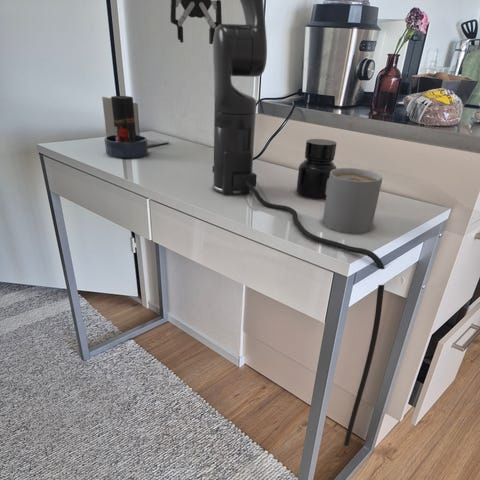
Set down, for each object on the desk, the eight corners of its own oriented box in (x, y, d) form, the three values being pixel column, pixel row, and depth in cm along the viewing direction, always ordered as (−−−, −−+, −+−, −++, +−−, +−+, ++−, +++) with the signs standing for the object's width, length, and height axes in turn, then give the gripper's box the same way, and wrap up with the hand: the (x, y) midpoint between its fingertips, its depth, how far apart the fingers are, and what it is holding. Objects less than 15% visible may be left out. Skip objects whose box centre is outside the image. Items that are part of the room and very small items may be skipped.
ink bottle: (336, 201, 101) (345, 147, 94) (298, 200, 101) (305, 145, 94) (328, 189, 109) (336, 138, 103) (293, 187, 109) (299, 136, 102)
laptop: (170, 143, 146) (168, 100, 139) (140, 148, 138) (136, 103, 130) (136, 135, 155) (133, 94, 148) (106, 139, 147) (101, 96, 140)
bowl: (149, 158, 127) (148, 142, 125) (106, 159, 125) (104, 142, 122) (146, 149, 137) (145, 134, 135) (106, 149, 135) (104, 134, 132)
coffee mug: (351, 237, 83) (361, 184, 77) (312, 221, 89) (319, 171, 84) (391, 223, 90) (403, 174, 85) (352, 209, 97) (361, 163, 91)
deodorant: (141, 152, 132) (137, 97, 123) (127, 156, 127) (121, 99, 119) (127, 149, 134) (121, 95, 126) (112, 152, 130) (106, 97, 122)
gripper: (170, -33, 112) (173, 42, 121) (224, -28, 115) (223, 44, 124) (167, -29, 118) (170, 42, 127) (219, -25, 121) (218, 44, 130)
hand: (196, 43), depth 125 cm, fingers open, 8 cm apart
